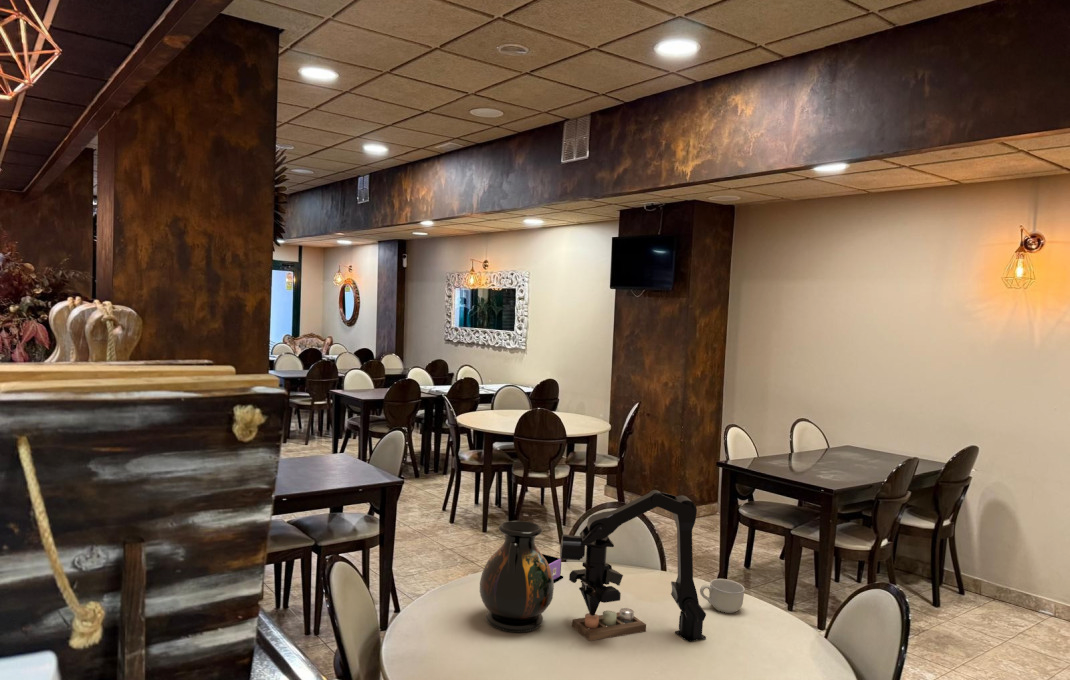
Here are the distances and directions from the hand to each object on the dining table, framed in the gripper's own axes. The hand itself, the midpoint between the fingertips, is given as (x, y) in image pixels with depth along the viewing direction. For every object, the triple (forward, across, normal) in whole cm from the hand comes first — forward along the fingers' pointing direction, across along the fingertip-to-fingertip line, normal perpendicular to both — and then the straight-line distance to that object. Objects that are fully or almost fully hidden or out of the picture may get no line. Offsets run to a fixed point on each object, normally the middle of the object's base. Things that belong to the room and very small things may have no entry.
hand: (592, 615), depth 202 cm
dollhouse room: (+5, +43, -6) cm, 44 cm away
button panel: (+5, 0, -6) cm, 8 cm away
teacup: (+5, +1, -49) cm, 49 cm away
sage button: (+3, 0, -6) cm, 7 cm away
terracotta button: (+3, 0, 0) cm, 3 cm away
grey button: (+3, 0, -12) cm, 12 cm away
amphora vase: (+5, +13, +18) cm, 23 cm away
